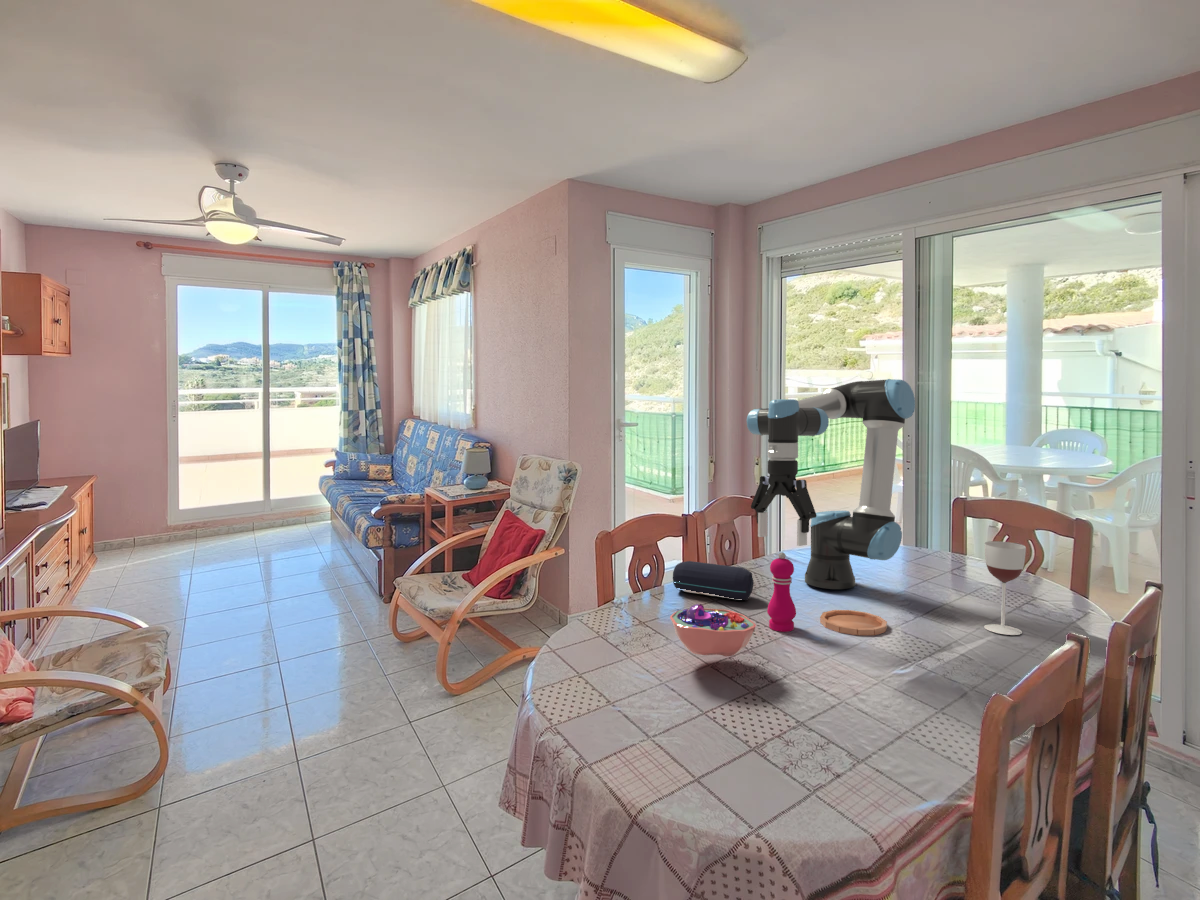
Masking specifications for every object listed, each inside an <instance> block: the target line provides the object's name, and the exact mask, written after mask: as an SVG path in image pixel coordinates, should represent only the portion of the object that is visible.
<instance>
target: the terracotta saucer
mask: <svg viewBox="0 0 1200 900" xmlns="http://www.w3.org/2000/svg"><path fill="white" fill-rule="evenodd" d="M819 622H820V624H821V625H822V626H824V627H825V628H826V629H828V630H831V631H834V632H836V633H840V634H846V635H853V636H878V635H880V634H884V633H886V632H887V629H888V621H886V619H884V618H883V617H881V616H879V615H876V614H873V613H870V612H866V611H860V610H852V609H832V610H829V611H824V612H822V613H821V615H820V616H819Z"/></svg>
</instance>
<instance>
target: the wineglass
mask: <svg viewBox="0 0 1200 900" xmlns="http://www.w3.org/2000/svg"><path fill="white" fill-rule="evenodd" d="M1026 551H1027V547H1026V546H1025V545H1024V544H1022V543H1021V544H1020V543H1017V542H1010V541H986V542H985V543H984V555H985V556H984V557H985V558H984V559H985V565H986V567H987V568H986V569H987V570H988V572H989V574H990V575H992V576H993V577H994V578H996V579H997V580H998V581H1000V582H1001V604H1000V605H1001V606H1000V607H1001V610H1000V611H1001V613H1000V624H999V623H998V624H997V623H996V624H995V623H993V624H992V623H991V624H985V625H984V626H983V627H984V629H985V630H987V631H990V632H993V633H996V634H999V635H1000V634H1001V635H1008V636H1009V635H1010V636H1019V635H1021V634H1023V631H1022V630H1021V629H1019V628H1016V627H1013V626H1009V625H1005V624H1006V594H1007V593H1006V589H1007V583H1008V582H1010V581H1013V580H1016V579H1017V578H1019V577H1020V576H1021V574H1022V572H1023V570H1024V567H1025V562H1026V553H1027V552H1026Z"/></svg>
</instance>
